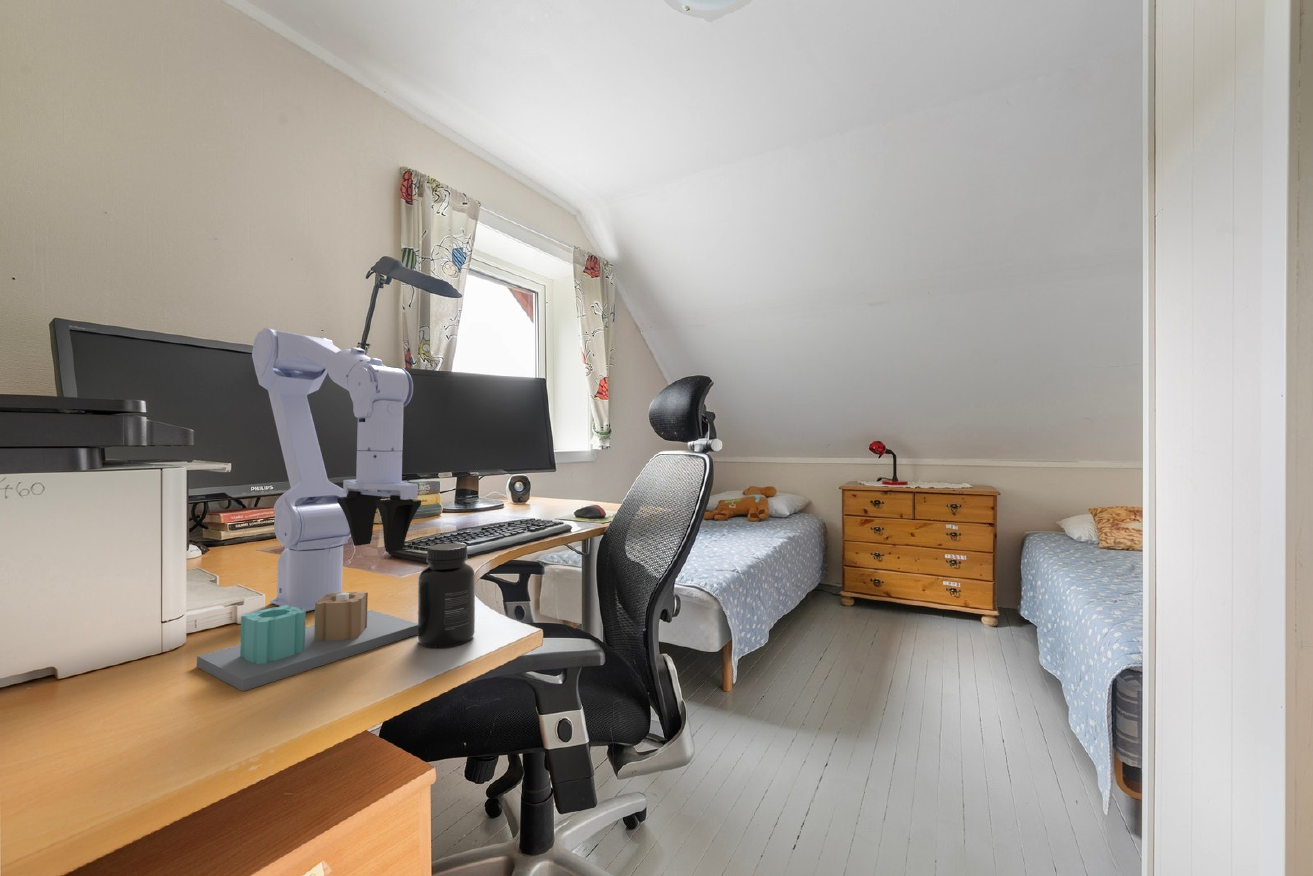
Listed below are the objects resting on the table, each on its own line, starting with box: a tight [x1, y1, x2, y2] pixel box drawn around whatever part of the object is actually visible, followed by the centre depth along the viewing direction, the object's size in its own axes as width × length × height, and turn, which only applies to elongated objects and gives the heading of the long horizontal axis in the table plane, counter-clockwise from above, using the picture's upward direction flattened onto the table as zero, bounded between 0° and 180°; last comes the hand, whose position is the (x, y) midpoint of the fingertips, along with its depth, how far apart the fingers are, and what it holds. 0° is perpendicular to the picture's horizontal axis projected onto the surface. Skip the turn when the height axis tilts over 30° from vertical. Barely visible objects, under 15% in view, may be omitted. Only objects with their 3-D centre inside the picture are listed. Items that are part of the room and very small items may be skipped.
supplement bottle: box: [417, 542, 476, 649], centre depth 69 cm, size 7×7×12 cm
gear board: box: [196, 591, 418, 692], centre depth 65 cm, size 11×20×6 cm, turn 149°
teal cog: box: [239, 605, 307, 664], centre depth 61 cm, size 5×5×4 cm
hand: (377, 547), depth 75 cm, fingers open, 7 cm apart
